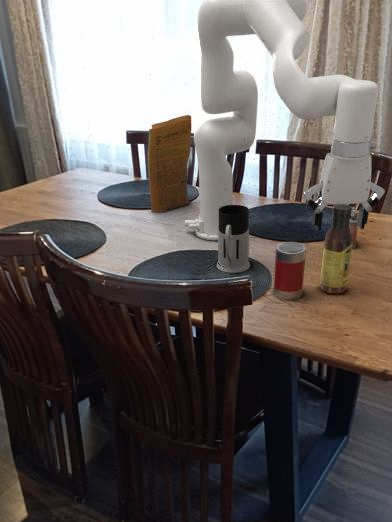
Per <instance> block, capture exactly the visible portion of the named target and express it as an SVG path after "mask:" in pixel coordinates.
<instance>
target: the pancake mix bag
mask: <svg viewBox="0 0 392 522" xmlns="http://www.w3.org/2000/svg"><path fill="white" fill-rule="evenodd" d="M192 129H193V128H192V115H190V114H186V115H185V114H184V115H182V116H177V117H174V118H171V119H168V120H165V121H161V122H157V123H153V124H151V128H149V129H148V137H147V140H148V143H147V173H148V184H149V195H150V202H151V204H150V205H151V207H150V208H151V209H150V212H151V213H165V212H168V211H171V210H174V209H177V208H180V207H184V206H187V205H189V203H190V197H189V194H188V180H189V159H190V153H191V137H192V136H191V135H192Z"/></svg>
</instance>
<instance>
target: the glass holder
mask: <svg viewBox="0 0 392 522" xmlns="http://www.w3.org/2000/svg"><path fill="white" fill-rule="evenodd" d="M249 219H250V209H249V207H248V206H245V205H242V204H233V205H226V206H223V207H221V208H219V226H218V240H217V259H218V260H217V263H216V268H217V269H218V270H219V271H221V272H223V273H229V274H236V273H242V272H246V271H247V270H249V269H250V267H251V264H250V261H249V254H250V253H249V252H250V226H249V223H250V220H249ZM218 263H219V264H220V265H221V266H220V265H219V264H218ZM222 266H224V267H227V268H224V267H222ZM230 268H233V269H230ZM235 268H237V269H235Z"/></svg>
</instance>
